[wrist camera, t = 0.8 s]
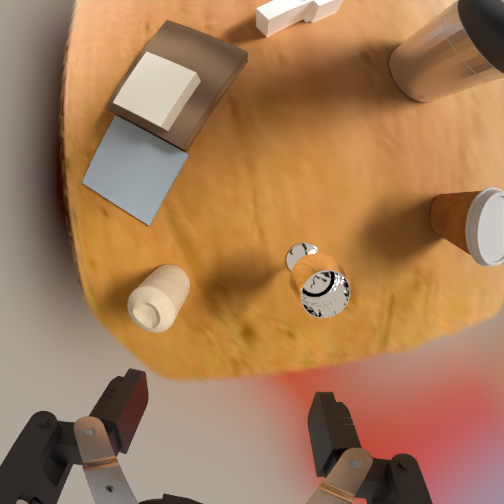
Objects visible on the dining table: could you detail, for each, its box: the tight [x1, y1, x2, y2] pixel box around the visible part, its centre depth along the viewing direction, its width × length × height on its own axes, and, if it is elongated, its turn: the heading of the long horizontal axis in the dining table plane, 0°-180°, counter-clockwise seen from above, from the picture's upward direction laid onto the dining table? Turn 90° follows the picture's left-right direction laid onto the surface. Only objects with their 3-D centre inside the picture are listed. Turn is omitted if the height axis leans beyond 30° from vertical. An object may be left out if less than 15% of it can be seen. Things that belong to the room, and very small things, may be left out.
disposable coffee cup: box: [430, 187, 504, 267], centre depth 29 cm, size 10×10×12 cm
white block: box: [113, 52, 201, 131], centre depth 27 cm, size 7×7×3 cm
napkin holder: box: [256, 0, 343, 37], centre depth 26 cm, size 15×11×6 cm
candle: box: [127, 264, 190, 333], centre depth 33 cm, size 6×6×10 cm
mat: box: [82, 115, 189, 226], centre depth 34 cm, size 10×12×1 cm
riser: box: [106, 20, 248, 151], centre depth 30 cm, size 14×12×3 cm
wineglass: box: [286, 242, 350, 318], centre depth 31 cm, size 6×6×12 cm
